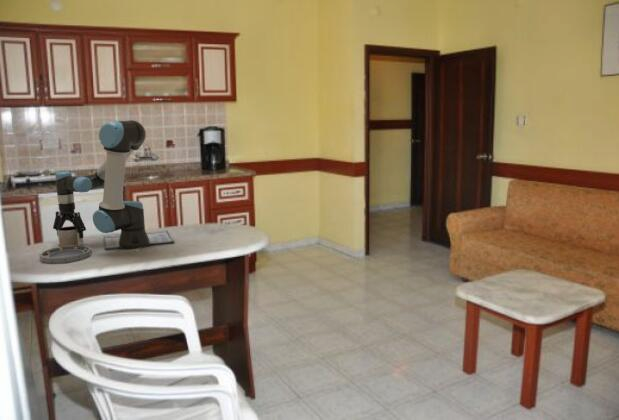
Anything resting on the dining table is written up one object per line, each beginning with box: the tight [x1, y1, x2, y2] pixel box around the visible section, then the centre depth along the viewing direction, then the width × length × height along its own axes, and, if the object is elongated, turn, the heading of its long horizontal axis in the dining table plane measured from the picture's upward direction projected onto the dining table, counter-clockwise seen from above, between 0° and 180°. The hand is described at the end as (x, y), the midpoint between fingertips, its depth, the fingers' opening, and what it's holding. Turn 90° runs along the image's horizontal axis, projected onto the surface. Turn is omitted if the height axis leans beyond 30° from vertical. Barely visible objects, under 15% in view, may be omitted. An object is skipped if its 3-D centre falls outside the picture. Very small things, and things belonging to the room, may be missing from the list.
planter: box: [58, 225, 83, 247], centre depth 267 cm, size 11×11×10 cm
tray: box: [38, 245, 93, 265], centre depth 248 cm, size 22×22×3 cm
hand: (71, 243), depth 268 cm, fingers open, 12 cm apart
